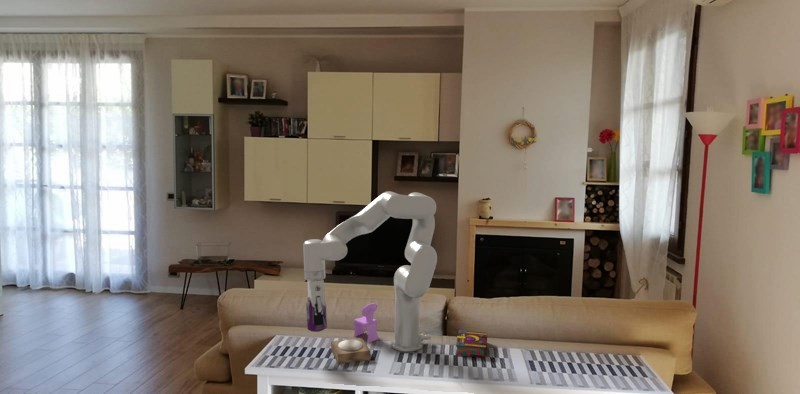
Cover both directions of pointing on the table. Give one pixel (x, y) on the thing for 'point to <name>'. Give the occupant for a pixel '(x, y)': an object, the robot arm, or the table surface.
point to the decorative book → (471, 344)
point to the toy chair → (367, 323)
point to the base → (350, 350)
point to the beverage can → (311, 317)
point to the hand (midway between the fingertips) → (316, 320)
